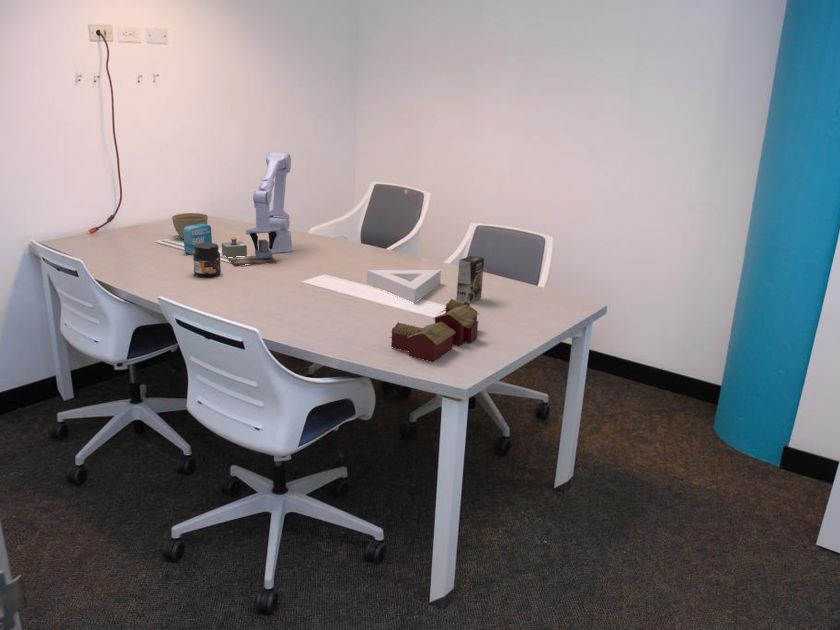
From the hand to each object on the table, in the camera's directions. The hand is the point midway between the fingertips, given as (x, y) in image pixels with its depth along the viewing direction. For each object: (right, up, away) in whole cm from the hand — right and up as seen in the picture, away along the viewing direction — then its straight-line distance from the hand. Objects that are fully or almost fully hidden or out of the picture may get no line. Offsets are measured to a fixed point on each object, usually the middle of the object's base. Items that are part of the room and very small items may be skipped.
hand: (263, 249), depth 321 cm
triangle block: (+58, -19, -28) cm, 67 cm away
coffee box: (+86, -23, -37) cm, 97 cm away
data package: (-31, 0, +10) cm, 33 cm away
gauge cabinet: (-15, -2, +8) cm, 17 cm away
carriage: (0, -3, +1) cm, 4 cm away
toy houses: (+76, -35, -75) cm, 112 cm away
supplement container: (-18, -12, -21) cm, 30 cm away
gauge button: (-14, +1, +7) cm, 16 cm away
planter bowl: (-41, +8, +33) cm, 54 cm away
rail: (-5, -5, -1) cm, 7 cm away
